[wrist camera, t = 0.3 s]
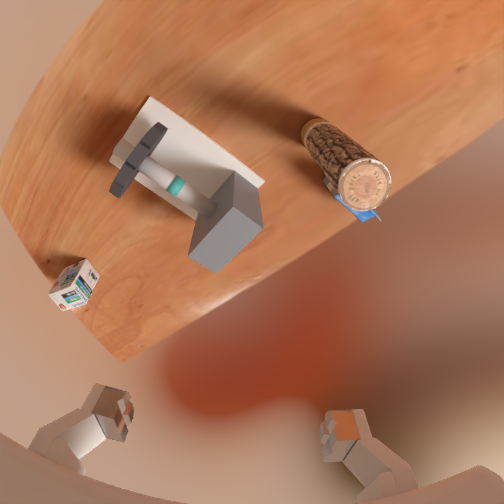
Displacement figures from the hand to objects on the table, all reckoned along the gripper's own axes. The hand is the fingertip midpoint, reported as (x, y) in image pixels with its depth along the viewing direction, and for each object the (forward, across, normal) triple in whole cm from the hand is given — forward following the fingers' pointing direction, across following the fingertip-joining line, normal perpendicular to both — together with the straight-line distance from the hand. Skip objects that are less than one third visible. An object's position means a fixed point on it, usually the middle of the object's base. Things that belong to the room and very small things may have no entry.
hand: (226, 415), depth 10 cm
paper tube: (+50, -11, -13) cm, 53 cm away
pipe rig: (+50, +14, -4) cm, 52 cm away
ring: (+46, +20, -8) cm, 51 cm away
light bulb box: (+55, +45, +25) cm, 75 cm away
